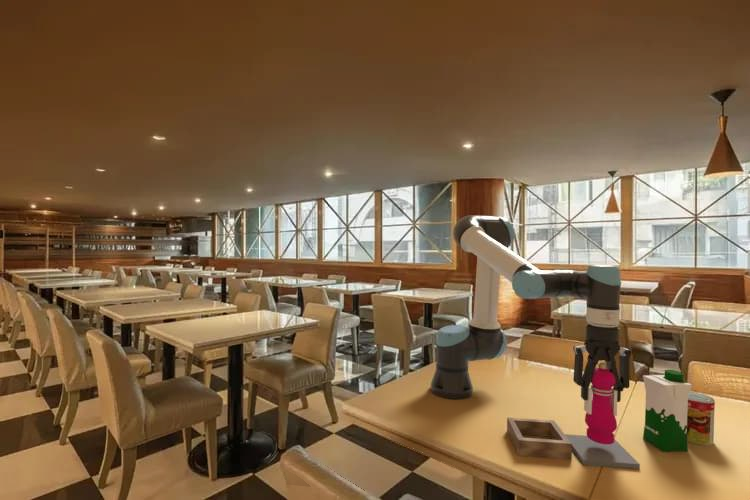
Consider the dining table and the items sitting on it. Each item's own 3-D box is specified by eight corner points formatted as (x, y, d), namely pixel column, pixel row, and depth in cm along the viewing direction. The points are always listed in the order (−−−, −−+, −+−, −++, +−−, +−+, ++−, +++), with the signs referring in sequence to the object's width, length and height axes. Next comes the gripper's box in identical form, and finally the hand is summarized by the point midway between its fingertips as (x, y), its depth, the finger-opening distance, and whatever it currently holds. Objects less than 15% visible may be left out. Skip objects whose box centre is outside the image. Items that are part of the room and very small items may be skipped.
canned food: (675, 429, 115) (676, 389, 115) (709, 436, 111) (711, 394, 111) (679, 440, 108) (681, 398, 108) (716, 448, 104) (718, 404, 104)
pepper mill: (621, 447, 97) (623, 368, 96) (589, 443, 98) (592, 365, 98) (609, 433, 104) (612, 359, 103) (580, 430, 105) (582, 357, 105)
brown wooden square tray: (518, 455, 99) (518, 440, 99) (506, 431, 112) (507, 417, 112) (571, 459, 98) (572, 443, 97) (553, 434, 110) (554, 420, 110)
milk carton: (694, 452, 102) (696, 377, 101) (662, 453, 101) (664, 378, 101) (666, 436, 110) (668, 366, 110) (636, 437, 110) (638, 367, 109)
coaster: (583, 464, 95) (583, 459, 95) (563, 438, 108) (563, 434, 108) (639, 469, 94) (639, 464, 94) (612, 441, 107) (613, 437, 107)
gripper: (570, 325, 98) (568, 416, 98) (648, 328, 96) (646, 421, 96) (560, 320, 105) (558, 404, 106) (632, 322, 103) (630, 409, 104)
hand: (600, 412), depth 101 cm, fingers closed on pepper mill, 5 cm apart
